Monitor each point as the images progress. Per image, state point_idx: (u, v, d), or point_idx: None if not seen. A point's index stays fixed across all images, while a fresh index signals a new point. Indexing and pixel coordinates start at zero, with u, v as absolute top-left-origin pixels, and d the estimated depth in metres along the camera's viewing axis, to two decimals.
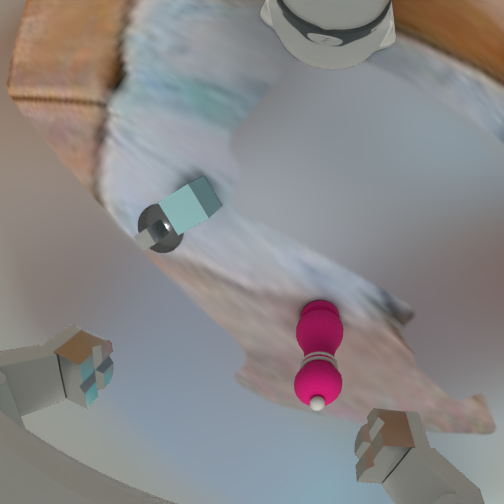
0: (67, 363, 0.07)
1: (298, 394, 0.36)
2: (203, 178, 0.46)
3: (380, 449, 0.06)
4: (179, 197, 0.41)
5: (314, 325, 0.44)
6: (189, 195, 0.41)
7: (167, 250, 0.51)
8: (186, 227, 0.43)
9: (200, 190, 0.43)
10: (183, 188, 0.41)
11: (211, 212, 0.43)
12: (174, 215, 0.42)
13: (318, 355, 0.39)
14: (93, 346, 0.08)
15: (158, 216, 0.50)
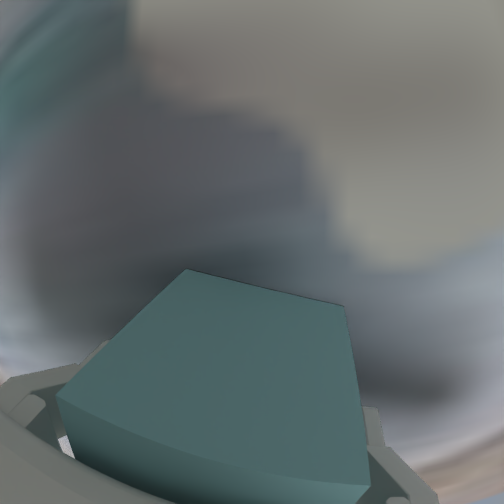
0: None
1: None
2: (185, 280, 0.10)
3: None
4: None
5: None
6: (128, 450, 0.04)
7: None
8: None
9: (188, 352, 0.06)
10: (73, 432, 0.04)
11: (350, 413, 0.05)
12: None
13: None
14: None
15: None
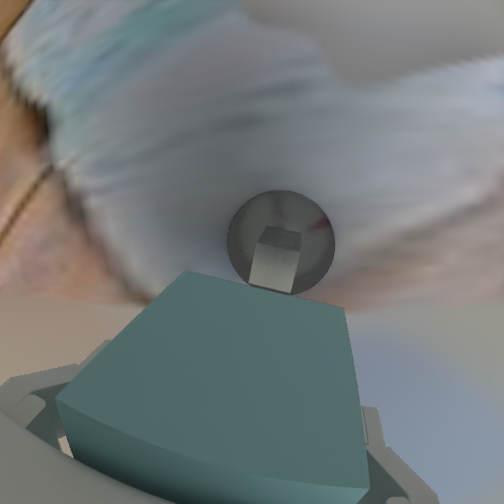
0: None
1: None
2: (184, 282, 0.10)
3: None
4: None
5: None
6: (128, 453, 0.04)
7: (325, 267, 0.24)
8: None
9: (187, 355, 0.06)
10: (73, 434, 0.04)
11: (350, 416, 0.05)
12: None
13: None
14: None
15: (259, 225, 0.24)
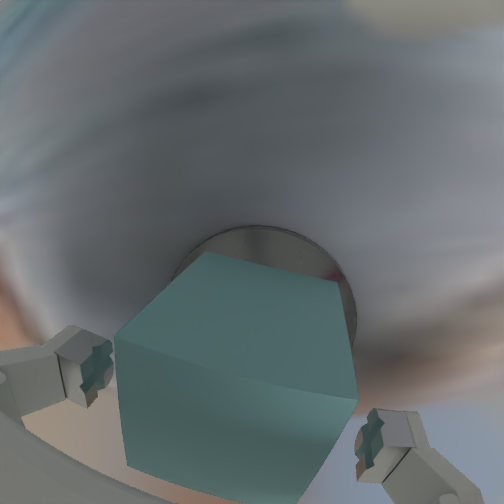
0: (67, 363, 0.07)
1: None
2: (205, 259, 0.12)
3: (380, 449, 0.06)
4: (152, 415, 0.07)
5: None
6: (172, 378, 0.06)
7: None
8: (294, 485, 0.07)
9: (215, 308, 0.08)
10: (123, 370, 0.06)
11: (342, 353, 0.07)
12: (210, 477, 0.07)
13: None
14: (93, 346, 0.08)
15: None
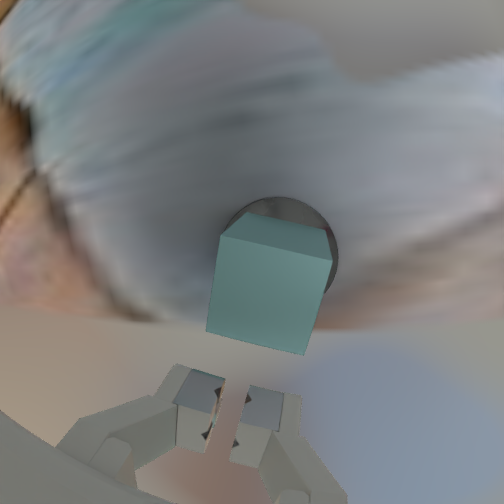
0: (191, 413, 0.07)
1: None
2: (248, 215, 0.20)
3: None
4: (232, 280, 0.15)
5: None
6: (247, 254, 0.15)
7: (327, 282, 0.21)
8: (305, 326, 0.15)
9: (261, 231, 0.17)
10: (221, 254, 0.15)
11: (325, 249, 0.16)
12: (258, 326, 0.16)
13: None
14: (214, 389, 0.08)
15: None
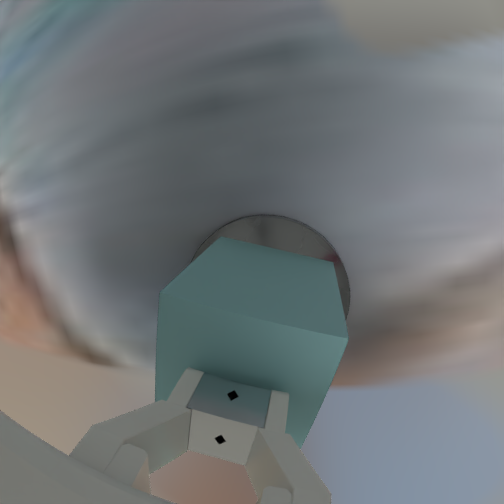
0: (205, 417, 0.07)
1: None
2: (222, 242, 0.14)
3: (223, 422, 0.07)
4: (184, 361, 0.09)
5: None
6: (204, 324, 0.09)
7: None
8: (300, 425, 0.09)
9: (234, 276, 0.11)
10: (164, 321, 0.09)
11: (336, 309, 0.10)
12: None
13: None
14: (227, 392, 0.08)
15: None
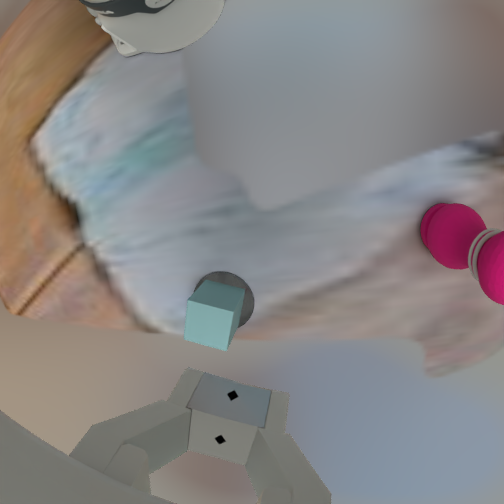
0: (205, 417, 0.07)
1: (503, 298, 0.19)
2: (206, 282, 0.40)
3: (223, 422, 0.07)
4: (193, 318, 0.35)
5: (444, 229, 0.28)
6: (199, 307, 0.35)
7: (248, 314, 0.41)
8: (225, 338, 0.35)
9: (208, 295, 0.37)
10: (188, 307, 0.35)
11: (234, 305, 0.36)
12: (205, 337, 0.36)
13: (478, 241, 0.22)
14: (227, 392, 0.08)
15: None
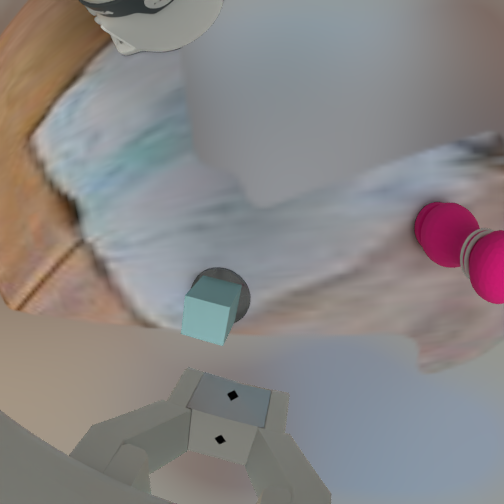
0: (205, 417, 0.07)
1: (493, 297, 0.19)
2: (203, 278, 0.41)
3: (223, 422, 0.07)
4: (191, 313, 0.36)
5: (437, 228, 0.29)
6: (196, 303, 0.35)
7: (244, 310, 0.42)
8: (222, 333, 0.36)
9: (205, 290, 0.38)
10: (186, 302, 0.36)
11: (231, 300, 0.36)
12: (202, 332, 0.36)
13: (470, 241, 0.23)
14: (227, 392, 0.08)
15: None
